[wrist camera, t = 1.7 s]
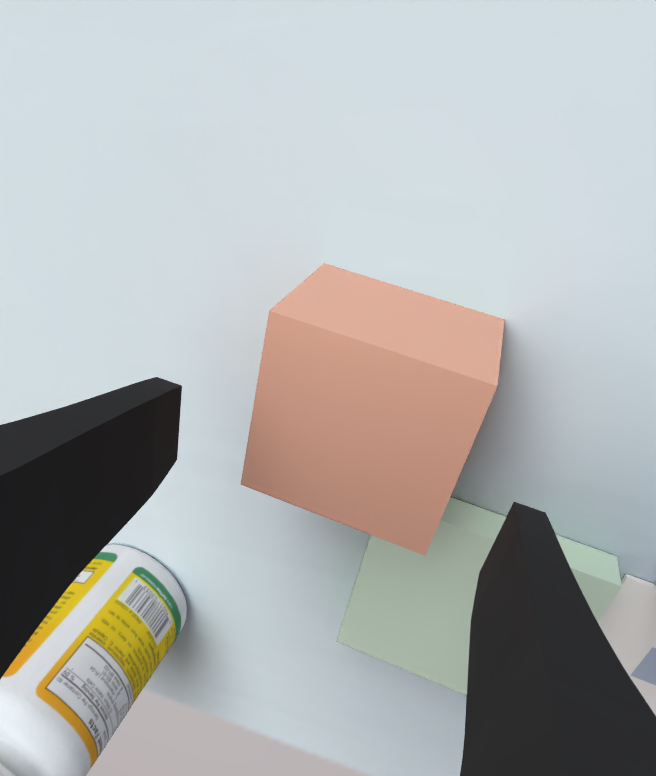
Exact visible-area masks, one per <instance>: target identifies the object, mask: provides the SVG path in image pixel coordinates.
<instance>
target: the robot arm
mask: <svg viewBox="0 0 656 776" xmlns="http://www.w3.org/2000/svg"><path fill="white" fill-rule="evenodd" d="M181 391H182V386H181V385H178V384H175V383H172V382H169V381H166V380H164V379H161V378H158V377H155V378H152V379H148V380H144V381H141V382H138V383H135V384H132V385H129V386H126V387H123V388H120V389H117V390H114V391H111V392H108V393H105V394H102V395H99V396H96V397H93V398H90V399H87V400H84V401H81V402H78V403H75V404H72V405H69V406H66V407H63V408H59V409H56V410H52V411H49V412H46V413H42V414H39V415H35V416H32V417H28V418H25V419H21V420H18V421H15V422H11V423H7V424H3V425H0V679H1V678H2V676H3V675H4V674H5V672H6V671H7V669H8V668H9V666H10V665H11V664H12V662H13V661H14V659H15V658H16V657H17V655H18V654H19V653H20V651H21V650H22V648H23V647H24V646H25V644H26V643H27V641H28V640H29V639H30V637H31V636H32V634H33V633H34V632H35V630H36V629H37V628H38V626H39V625H40V624H41V622H42V621H43V620H44V618H45V617H46V616H47V614H48V613H49V612H50V610H51V609H52V608H53V606H54V605H55V604H56V603H57V601H58V600H59V599H60V597H61V596H62V595H63V593H64V592H65V591H66V589H67V588H68V587H69V586H70V585H71V583H72V582H73V581H74V580H75V579H76V578H77V576H78V575H79V574H80V573H81V572H82V571H83V570H84V568H85V567H86V566H87V565H88V564H89V563H90V562H91V561H92V560H93V559H94V558H95V557H96V556H97V555H98V553H99V552H100V551H101V550H102V549H103V548H104V547H105V546H106V545H107V544H108V543H109V542H110V541H111V540H112V538H113V537H114V536H115V535H116V534H117V533H118V532H119V531H120V530H121V529H122V528H123V527H124V526H125V525H126V523H127V522H128V521H129V520H130V519H131V518H132V517H133V516H134V515H135V514H136V513H137V511H138V510H139V509H140V508H141V507H142V506H143V505H144V504H145V503H146V502H147V500H148V499H149V498H150V497H151V496H152V495H153V493H154V492H155V491H156V489H157V488H158V486H159V485H160V484H161V482H162V481H163V480H164V478H165V477H166V475H167V474H168V472H169V471H170V469H171V468H172V466H173V465H174V463H175V462H176V460H177V451H178V436H179V421H180V406H181ZM460 776H656V715H655V714H654V713H653V711H652V710H651V708H650V707H649V705H648V704H647V702H646V701H645V699H644V698H643V696H642V695H641V693H640V692H639V690H638V689H637V687H636V686H635V684H634V683H633V681H632V680H631V678H630V677H629V675H628V673H627V672H626V670H625V669H624V667H623V665H622V664H621V662H620V661H619V659H618V657H617V655H616V654H615V652H614V650H613V649H612V647H611V645H610V643H609V642H608V640H607V638H606V636H605V635H604V633H603V631H602V629H601V628H600V626H599V624H598V622H597V620H596V618H595V616H594V615H593V613H592V611H591V609H590V607H589V605H588V603H587V601H586V599H585V597H584V595H583V593H582V591H581V589H580V587H579V585H578V583H577V581H576V579H575V576H574V574H573V572H572V570H571V568H570V566H569V564H568V561H567V559H566V557H565V555H564V553H563V550H562V548H561V546H560V544H559V541H558V539H557V537H556V535H555V532H554V530H553V528H552V526H551V523H550V521H549V519H548V517H547V515H546V513H545V512H542V511H539V510H536V509H533V508H530V507H528V506H525V505H522V504H519V503H516V502H514V503H513V505H512V507H511V509H510V511H509V513H508V515H507V517H506V519H505V521H504V523H503V525H502V527H501V529H500V531H499V533H498V535H497V537H496V539H495V541H494V543H493V546H492V548H491V550H490V552H489V554H488V556H487V558H486V560H485V562H484V564H483V566H482V568H481V570H480V572H479V577H478V582H477V587H476V593H475V598H474V604H473V610H472V616H471V626H470V643H469V662H468V682H467V702H466V722H465V738H464V749H463V759H462V766H461V773H460Z"/></svg>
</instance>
